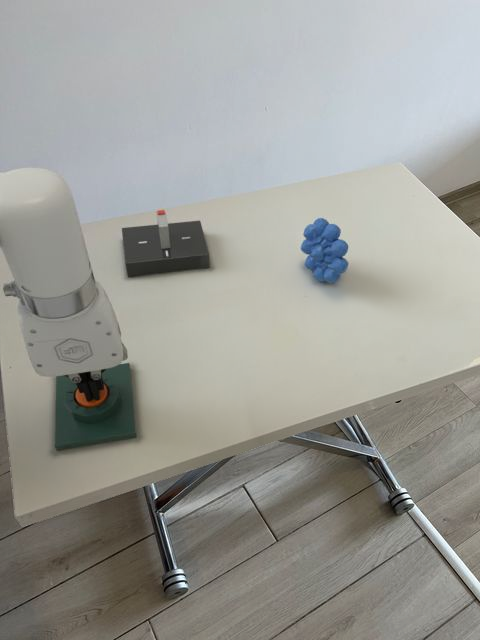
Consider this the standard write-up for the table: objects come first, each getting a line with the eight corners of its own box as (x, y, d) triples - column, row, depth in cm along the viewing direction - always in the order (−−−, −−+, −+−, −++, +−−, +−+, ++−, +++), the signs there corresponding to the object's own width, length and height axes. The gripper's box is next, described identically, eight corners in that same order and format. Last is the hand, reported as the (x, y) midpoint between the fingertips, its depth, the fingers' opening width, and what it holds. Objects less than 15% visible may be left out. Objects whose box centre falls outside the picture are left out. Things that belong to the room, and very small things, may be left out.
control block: (56, 451, 67) (50, 438, 65) (58, 378, 75) (52, 364, 73) (136, 437, 69) (133, 424, 67) (130, 367, 77) (127, 354, 74)
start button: (78, 414, 69) (75, 407, 68) (78, 390, 72) (75, 382, 70) (109, 409, 70) (107, 402, 69) (108, 386, 72) (106, 378, 71)
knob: (170, 248, 90) (168, 225, 87) (161, 249, 90) (158, 225, 87) (167, 232, 93) (164, 209, 90) (158, 233, 93) (156, 209, 90)
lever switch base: (127, 277, 90) (125, 262, 87) (124, 241, 96) (121, 227, 94) (209, 268, 92) (209, 253, 90) (200, 233, 99) (200, 219, 96)
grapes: (359, 292, 90) (374, 234, 81) (326, 304, 88) (337, 245, 79) (321, 253, 96) (331, 195, 87) (290, 263, 94) (296, 205, 85)
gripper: (-22, 322, 52) (32, 425, 66) (133, 302, 55) (153, 405, 69) (-14, 273, 57) (34, 379, 71) (128, 256, 60) (148, 362, 73)
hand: (93, 391), depth 69 cm, fingers closed
